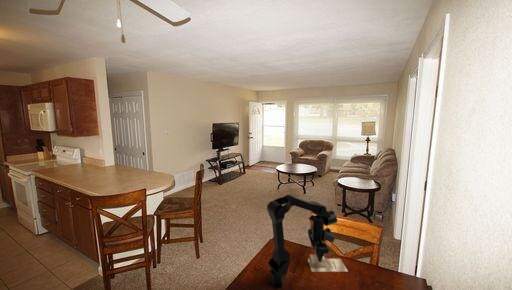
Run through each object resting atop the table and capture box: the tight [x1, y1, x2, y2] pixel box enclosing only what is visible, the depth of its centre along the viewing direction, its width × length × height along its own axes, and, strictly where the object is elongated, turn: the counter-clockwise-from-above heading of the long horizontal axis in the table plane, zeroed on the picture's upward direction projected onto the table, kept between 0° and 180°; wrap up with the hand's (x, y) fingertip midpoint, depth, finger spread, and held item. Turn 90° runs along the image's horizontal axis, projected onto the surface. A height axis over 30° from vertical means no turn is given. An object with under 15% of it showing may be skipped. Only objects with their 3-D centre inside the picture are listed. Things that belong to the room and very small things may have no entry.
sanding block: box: [309, 253, 326, 268], centre depth 113 cm, size 7×4×4 cm, turn 90°
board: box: [307, 258, 349, 273], centre depth 114 cm, size 18×10×1 cm, turn 90°
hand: (317, 255), depth 113 cm, fingers open, 9 cm apart
